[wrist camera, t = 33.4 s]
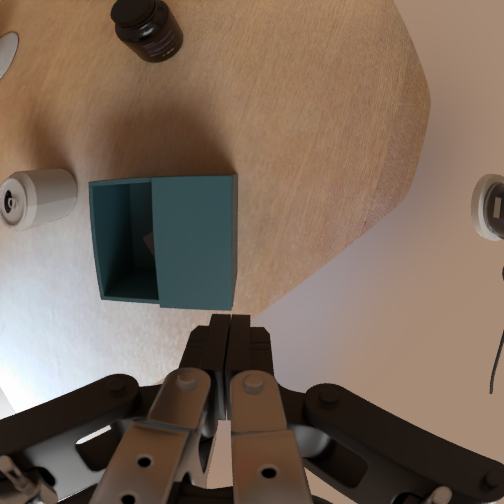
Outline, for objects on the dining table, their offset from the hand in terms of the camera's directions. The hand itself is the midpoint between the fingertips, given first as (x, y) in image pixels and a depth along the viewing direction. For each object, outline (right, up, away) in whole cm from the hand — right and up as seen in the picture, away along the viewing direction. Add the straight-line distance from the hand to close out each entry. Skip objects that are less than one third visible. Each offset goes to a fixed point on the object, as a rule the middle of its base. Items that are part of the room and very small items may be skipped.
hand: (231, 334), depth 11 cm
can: (-28, +12, +25) cm, 39 cm away
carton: (-9, +7, +26) cm, 28 cm away
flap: (-5, +4, +16) cm, 17 cm away
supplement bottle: (-12, +32, +19) cm, 39 cm away
